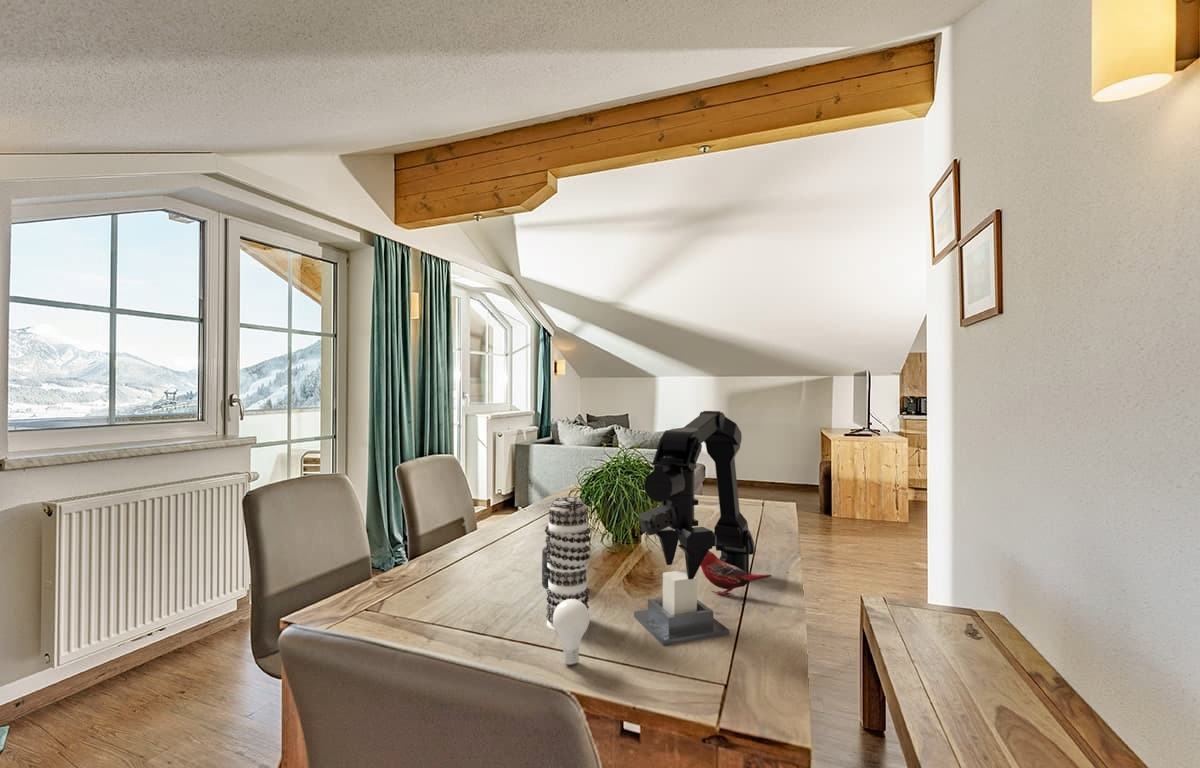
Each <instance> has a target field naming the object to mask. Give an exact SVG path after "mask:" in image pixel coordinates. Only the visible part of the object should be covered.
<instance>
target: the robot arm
mask: <svg viewBox="0 0 1200 768" xmlns="http://www.w3.org/2000/svg"><path fill="white" fill-rule="evenodd" d="M742 438H743V436H742V432H741V429H740V427H739V426H738V424H737V423H736V422H734V421H733V420H731V419H730V418H728V417H727V416H726V414H725V413H724V412H722V411H720V410H719V411H718V410H703V411H700V412H699V415H698V416H697V417H695V418H694V419H693V420H692V421H690V422H689V423H687V424H686V425H685V426H684V427H677V428H671V429H667V430H665V432H664V433H663V434H662V436H660V439H659V442H658V445H657V448H656V451H655V453H654V454H655V455H654V457H653V460H652V461H653V462H652V465H653V471H651V472H650V473H649V474H648V475H647V476H646V478H645V481H644V483H643V485H644V491H645V493H646V495H647V496H648V498H650V500H651V501H654V502H657V503H660V504H659V505H658V506H655V507H652V508H650V509H648V510H646V511H643V512H641V513H639V514H638V515H637V519H638V523H639V525H640V528H641V531H642V532H643V533H645V534H647V535H648V536H653V535H655V536H657V538H658V541H659V543H660V546H661V549H662V553H663V557H664V559H665V560H664V561H665V564H666V566H672V565H673V563H674V559H675V555H676V552H677V547H679V548H680V550H682V551H683V552H684V559H685V567H686V568H685V569H686V570H685V571H687V577H688V579H689V580H690V579H694V577H696V575H697V573H698V571H699V569H700V568H701V566H700V565H701V563H702V561H703V559H704V557H705V556H706V554H707V552H708V551H710V550H712V549H713V547H715V550H716V551H717V552H720V556H719V559H720V560H721V561H723V562H725V563H728V564H730V565H733V566H735V567H737V568H739V569H741V570H743V571H745V572H746V573H748V574H749V575H752V574H751V573H750V572H749V571H750V568H749V567H750V565H749V564H750V555H755V548H756V547H755V540H754V538H753V536H752V534H751V531H750V529H749V525H748V524H749V523H748V521H747V519H746V518H745V517H744V515H743V513H741V510H740V502H739V492H738V491H739V490H738V482H737V480H738V479H737V470H736V462H735V461H736V460H735V459H736V456H737V454H738V452H739V451H740V449H741V443H742ZM702 443H704V444H705V449H706V453H707V454H708V456H709V457H710V458H711V459H712V460H713V462H714V466H715V475H716V486H717V494H718V505H719V514H720V517H719V518H718V520H717V522H716V523H715V525H714V528H713V529H714V531H712V529H710V528H707V527H704V526H699V519H698V520H697V519H696V518H695V506H699V499H697V498H695V470H696V469H697V467H698V466H697V462H698V458H699V456H700V454H701V452H702V449H703V448H702V447H703V445H702Z"/></svg>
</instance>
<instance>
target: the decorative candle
mask: <svg viewBox="0 0 1200 768" xmlns="http://www.w3.org/2000/svg"><path fill="white" fill-rule="evenodd" d="M551 502H552V503H551V504H550V505H548V506H547V509H549V513H548V514H549V521H548V525H546V527H545V529H544V532H545V534H546V537H545V544H546V543H547V544H546V546H545V547H546V550H547V553H548V554H547V557H546V560H547V561H548V563H547V567H548V568H549V581H548V588H546V593H547V597H546V602H547V603H548V604H547V605H546V607H545V609H546V612H547V613H546V615H545V616H546V626H547V628H548V629H549V630H552V631H553V632H556V630H555V628H554V625H553V613H554V610H555V608H556V607H557V606H558V604H559V603H561V602H562V601H564V600H566V599H577V600H579V601H581V602H582V603H584V605H585V606H586V607H587V609H588V610H589V608H590V606H589V603H588V602H589V599H590V598H589V596H588V594H589V591H590V589H589V587H588V578H587V568H589V561H587V560H588V559H590V557H591V555H590V554H589V553H588V552H589V551H590V548H591V547H590V546H589V545H588V544H587V543H588V542H590V540H591V537H590V536H589V534H590V533H591V531H592V530H591V528H589V527H588V519H587V512H588V511H587V509H588V508H589V506H588V505H586V504H585V502H584V501H583V500H582V499H581V498H579V497H574V496H561V497H558V498H555V499H553V501H551Z"/></svg>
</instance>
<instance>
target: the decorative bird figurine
mask: <svg viewBox="0 0 1200 768" xmlns="http://www.w3.org/2000/svg"><path fill="white" fill-rule="evenodd" d="M700 568H701V570H702V573H703V575H704V577H705V578H706V579H707V580H708V581H709V582H710V583H711V584H713V586H716V587H718V588H720V589H723V590H724V591H719V590H718V591H714V590H711V593H715V594H717V595H721V596H728V597H730V596H734V594H733V593H731V591H733V590H734V589H737V588H743V587H745V586H746V585H748V584H749V583H752V581H756V580H760V579H765V578H766V579H767V578H771V577H772V576H773V575H772V574H751V575H749V574H750V573H749V574H748V573H746V572H745V571H743V570H741V569H739V568H737V567H735V566H733V565H730V564H728V563H725V562H723V561H721V560H720V558H719V557H717V555H716V554H714V552H712V551H710V550H709V551H708V552H707V554H706V556H705V557H704V559H703V561H702V563H701V565H700Z"/></svg>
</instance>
